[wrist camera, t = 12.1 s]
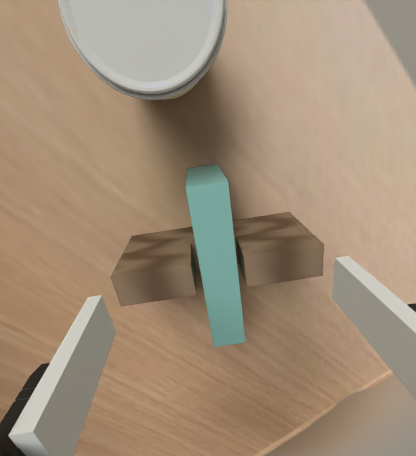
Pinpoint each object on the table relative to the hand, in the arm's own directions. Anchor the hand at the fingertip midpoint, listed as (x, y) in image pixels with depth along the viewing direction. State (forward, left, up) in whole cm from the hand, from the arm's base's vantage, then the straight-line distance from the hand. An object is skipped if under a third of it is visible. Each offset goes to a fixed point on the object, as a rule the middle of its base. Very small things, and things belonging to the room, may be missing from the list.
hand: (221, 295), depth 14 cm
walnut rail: (0, -5, -18) cm, 18 cm away
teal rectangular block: (0, -5, -18) cm, 18 cm away
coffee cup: (-2, +15, -18) cm, 24 cm away
